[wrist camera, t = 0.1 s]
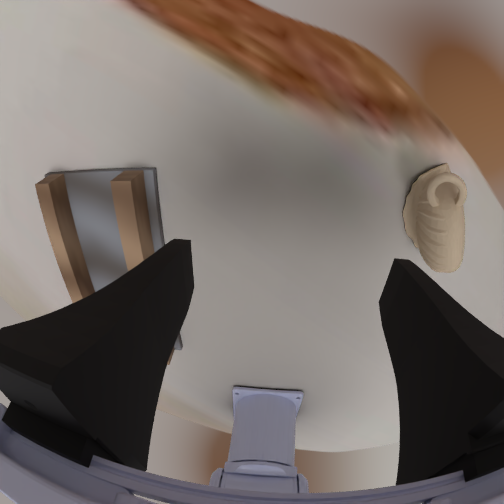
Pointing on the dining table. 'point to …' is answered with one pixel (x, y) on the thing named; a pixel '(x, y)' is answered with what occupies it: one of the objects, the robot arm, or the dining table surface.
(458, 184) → the decorative ornament
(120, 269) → the walnut chute
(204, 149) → the dining table surface
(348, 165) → the dining table surface
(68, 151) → the dining table surface
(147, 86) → the dining table surface
